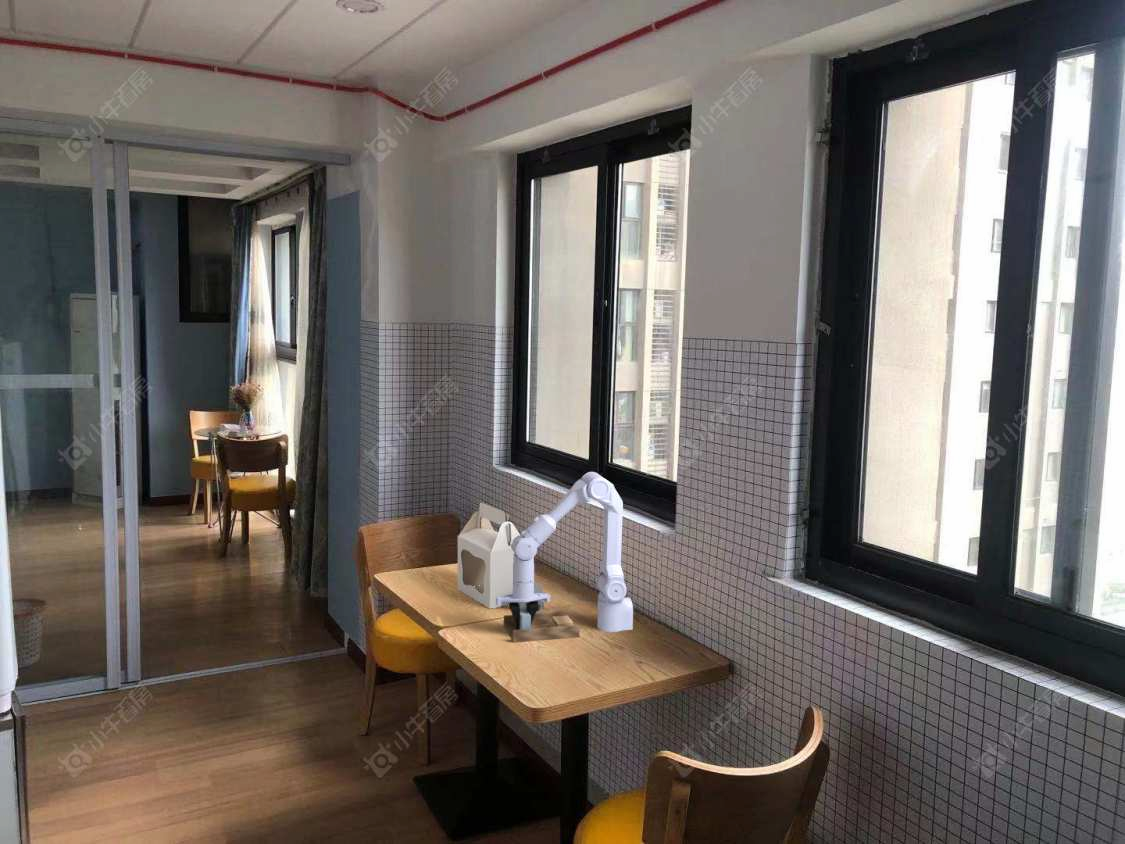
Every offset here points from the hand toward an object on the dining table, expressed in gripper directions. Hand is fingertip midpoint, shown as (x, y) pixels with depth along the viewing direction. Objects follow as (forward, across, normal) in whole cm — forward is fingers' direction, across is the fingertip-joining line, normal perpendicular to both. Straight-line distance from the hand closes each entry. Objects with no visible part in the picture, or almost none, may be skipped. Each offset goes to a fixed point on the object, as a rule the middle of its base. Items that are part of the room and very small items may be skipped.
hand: (522, 628), depth 246 cm
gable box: (+2, +2, -36) cm, 36 cm away
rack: (+2, -5, 0) cm, 5 cm away
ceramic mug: (+2, -6, -19) cm, 20 cm away
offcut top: (0, -11, 0) cm, 11 cm away
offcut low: (+1, -11, 0) cm, 11 cm away
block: (+1, 0, 0) cm, 1 cm away
